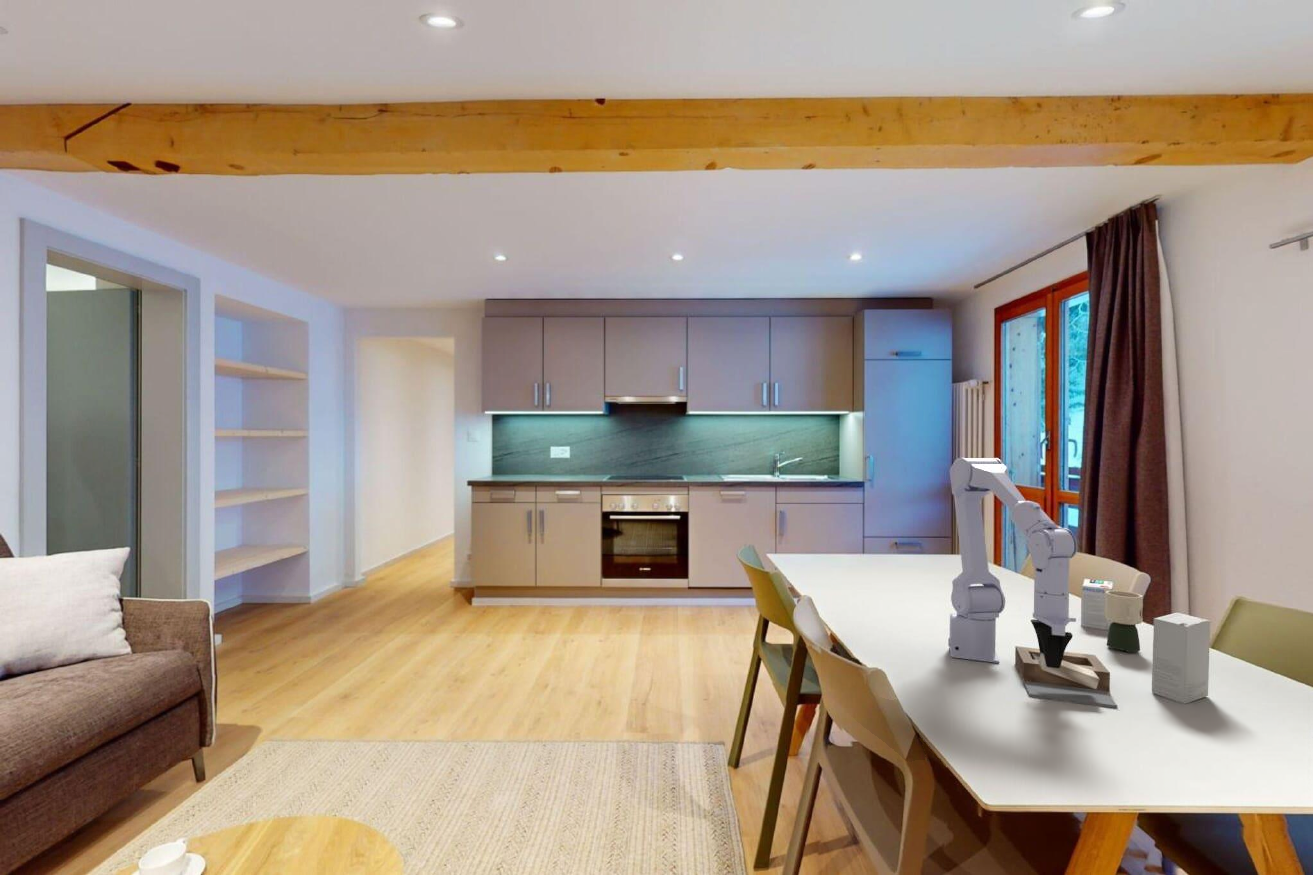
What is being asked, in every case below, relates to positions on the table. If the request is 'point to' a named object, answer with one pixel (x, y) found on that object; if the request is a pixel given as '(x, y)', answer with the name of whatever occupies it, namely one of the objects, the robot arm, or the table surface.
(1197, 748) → the table surface
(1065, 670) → the birch bar
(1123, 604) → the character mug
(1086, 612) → the light bulb box
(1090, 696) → the slate mat
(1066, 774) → the table surface
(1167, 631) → the skincare box
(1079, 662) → the walnut board
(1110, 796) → the table surface
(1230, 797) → the table surface
